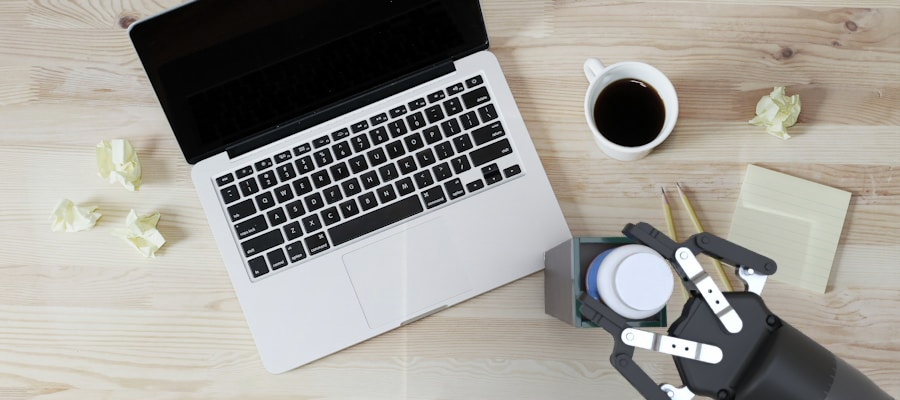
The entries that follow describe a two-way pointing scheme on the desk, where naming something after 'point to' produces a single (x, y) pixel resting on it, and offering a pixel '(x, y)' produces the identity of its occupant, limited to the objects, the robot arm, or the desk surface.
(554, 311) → the stand
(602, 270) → the pill bottle
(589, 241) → the socket
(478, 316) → the desk surface
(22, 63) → the desk surface
